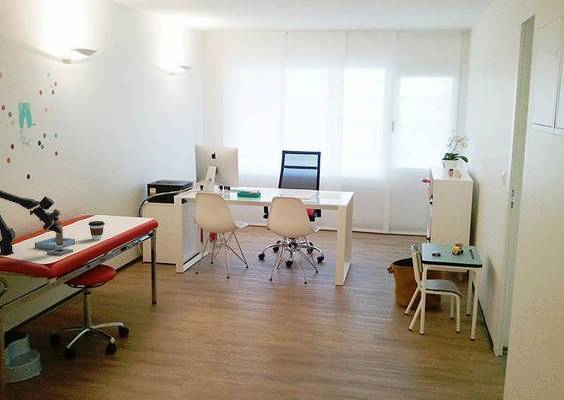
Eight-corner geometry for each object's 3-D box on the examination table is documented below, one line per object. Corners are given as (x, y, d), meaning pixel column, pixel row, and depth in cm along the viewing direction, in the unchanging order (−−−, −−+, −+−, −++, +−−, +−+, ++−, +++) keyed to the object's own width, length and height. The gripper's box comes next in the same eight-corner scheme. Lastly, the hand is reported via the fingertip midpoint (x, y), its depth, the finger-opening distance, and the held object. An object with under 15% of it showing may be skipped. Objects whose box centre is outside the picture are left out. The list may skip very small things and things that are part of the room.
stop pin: (60, 245, 344) (59, 222, 341) (54, 245, 345) (53, 221, 343) (65, 244, 348) (64, 221, 346) (59, 243, 349) (58, 220, 347)
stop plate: (61, 255, 340) (61, 253, 340) (46, 254, 344) (46, 251, 344) (73, 251, 351) (73, 249, 350) (59, 250, 354) (59, 247, 354)
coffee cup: (100, 240, 383) (99, 224, 381) (85, 239, 385) (85, 223, 383) (107, 237, 393) (107, 221, 392) (94, 236, 395) (93, 220, 394)
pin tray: (54, 250, 354) (54, 244, 353) (34, 247, 359) (34, 242, 358) (74, 244, 372) (74, 238, 372) (56, 241, 377) (56, 236, 377)
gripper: (47, 208, 333) (67, 226, 336) (55, 203, 351) (74, 220, 355) (34, 221, 333) (54, 238, 336) (42, 215, 351) (61, 232, 355)
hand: (61, 232), depth 345 cm, fingers closed on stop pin, 4 cm apart
